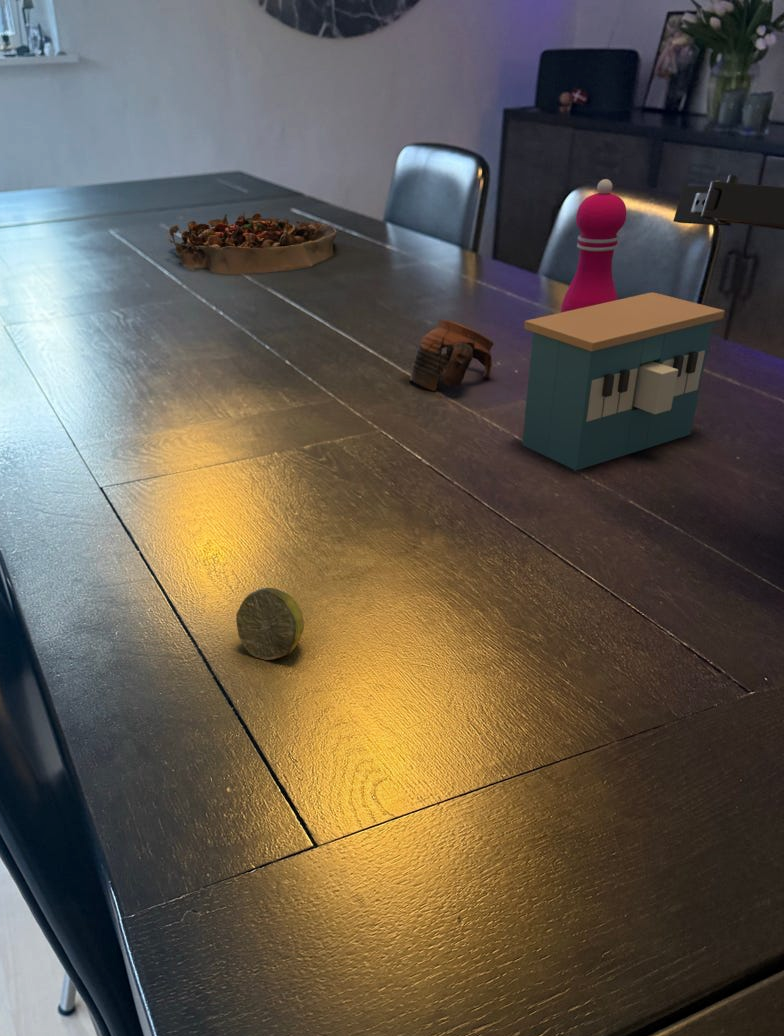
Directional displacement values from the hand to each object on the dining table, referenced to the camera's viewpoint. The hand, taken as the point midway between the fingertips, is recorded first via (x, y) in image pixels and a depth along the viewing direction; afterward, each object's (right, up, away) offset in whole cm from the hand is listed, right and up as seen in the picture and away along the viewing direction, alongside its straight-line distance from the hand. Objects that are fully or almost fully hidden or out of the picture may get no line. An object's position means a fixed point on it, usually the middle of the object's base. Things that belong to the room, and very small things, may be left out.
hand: (748, 218), depth 79 cm
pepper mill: (0, +4, +45) cm, 46 cm away
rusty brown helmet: (-20, -5, +35) cm, 40 cm away
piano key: (-4, -13, +12) cm, 18 cm away
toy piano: (-6, -15, +18) cm, 24 cm away
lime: (-40, -37, -11) cm, 56 cm away
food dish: (-48, +39, +102) cm, 119 cm away
